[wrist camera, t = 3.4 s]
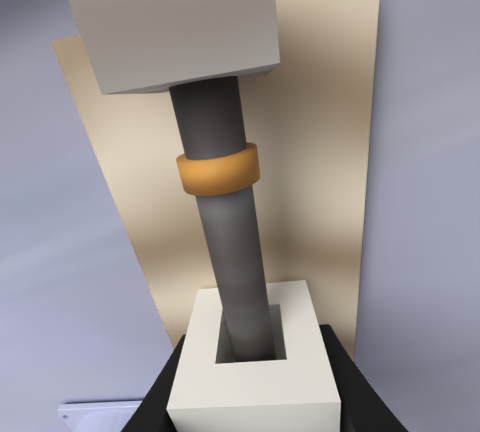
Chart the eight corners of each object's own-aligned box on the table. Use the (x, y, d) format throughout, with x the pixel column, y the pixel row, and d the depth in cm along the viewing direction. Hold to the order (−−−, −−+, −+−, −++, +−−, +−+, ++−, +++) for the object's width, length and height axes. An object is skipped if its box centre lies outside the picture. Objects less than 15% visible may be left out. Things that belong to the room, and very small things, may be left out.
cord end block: (308, 339, 13) (338, 468, 9) (214, 345, 14) (196, 470, 9) (305, 279, 11) (340, 401, 7) (198, 289, 12) (166, 409, 7)
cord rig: (346, 358, 16) (394, 491, 10) (190, 367, 17) (163, 493, 11) (366, -14, 8) (592, -217, 3) (70, 46, 9) (-185, -18, 4)
